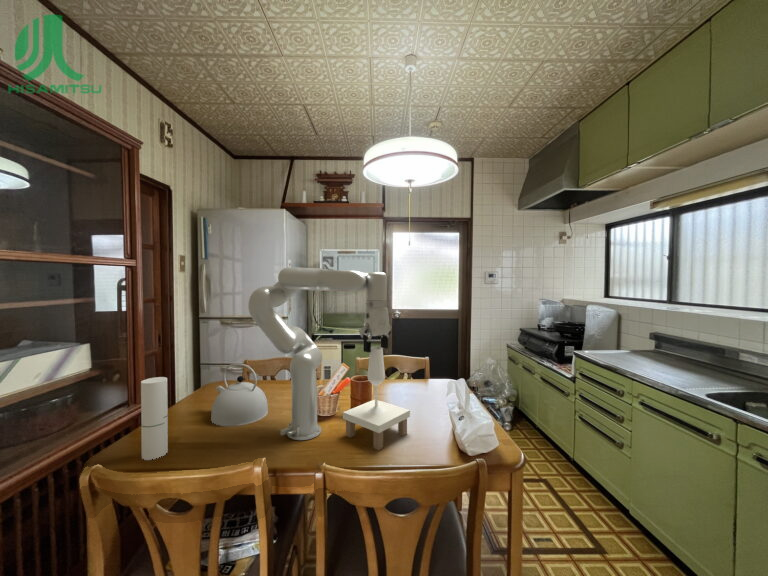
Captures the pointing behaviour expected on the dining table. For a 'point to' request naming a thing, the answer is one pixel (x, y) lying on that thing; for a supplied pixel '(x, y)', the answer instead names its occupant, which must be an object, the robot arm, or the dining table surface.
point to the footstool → (376, 420)
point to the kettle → (239, 402)
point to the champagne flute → (376, 375)
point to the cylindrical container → (154, 418)
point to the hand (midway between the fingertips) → (376, 349)
